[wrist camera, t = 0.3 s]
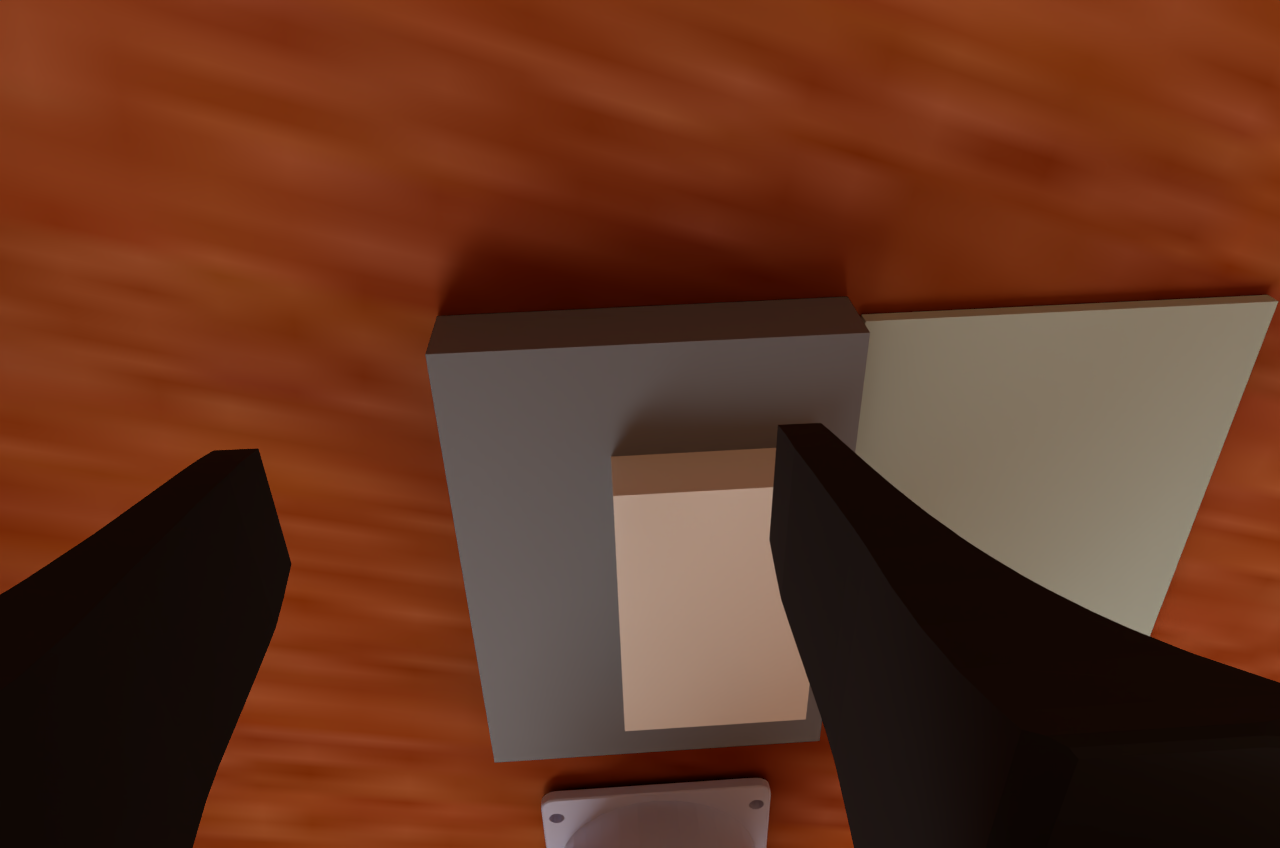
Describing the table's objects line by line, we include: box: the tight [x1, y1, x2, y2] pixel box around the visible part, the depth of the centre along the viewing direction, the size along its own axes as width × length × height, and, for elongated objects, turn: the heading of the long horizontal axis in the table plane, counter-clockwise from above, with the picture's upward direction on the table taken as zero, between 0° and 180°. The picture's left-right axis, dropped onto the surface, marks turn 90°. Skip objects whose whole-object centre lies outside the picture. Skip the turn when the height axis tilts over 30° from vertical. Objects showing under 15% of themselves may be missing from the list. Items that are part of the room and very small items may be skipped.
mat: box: [855, 295, 1278, 636], centre depth 26 cm, size 13×10×1 cm
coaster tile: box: [611, 448, 810, 731], centre depth 23 cm, size 8×5×2 cm, turn 1°
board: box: [425, 297, 870, 762], centre depth 25 cm, size 14×10×2 cm
